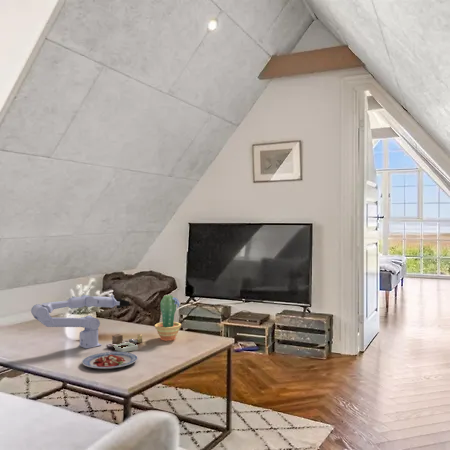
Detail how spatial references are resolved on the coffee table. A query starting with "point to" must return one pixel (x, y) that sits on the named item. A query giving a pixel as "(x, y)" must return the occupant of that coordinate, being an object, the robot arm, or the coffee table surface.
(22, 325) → the coffee table surface
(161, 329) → the potted cactus
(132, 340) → the brass cylinder knob
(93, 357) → the ceramic plate
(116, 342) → the block
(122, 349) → the tray
